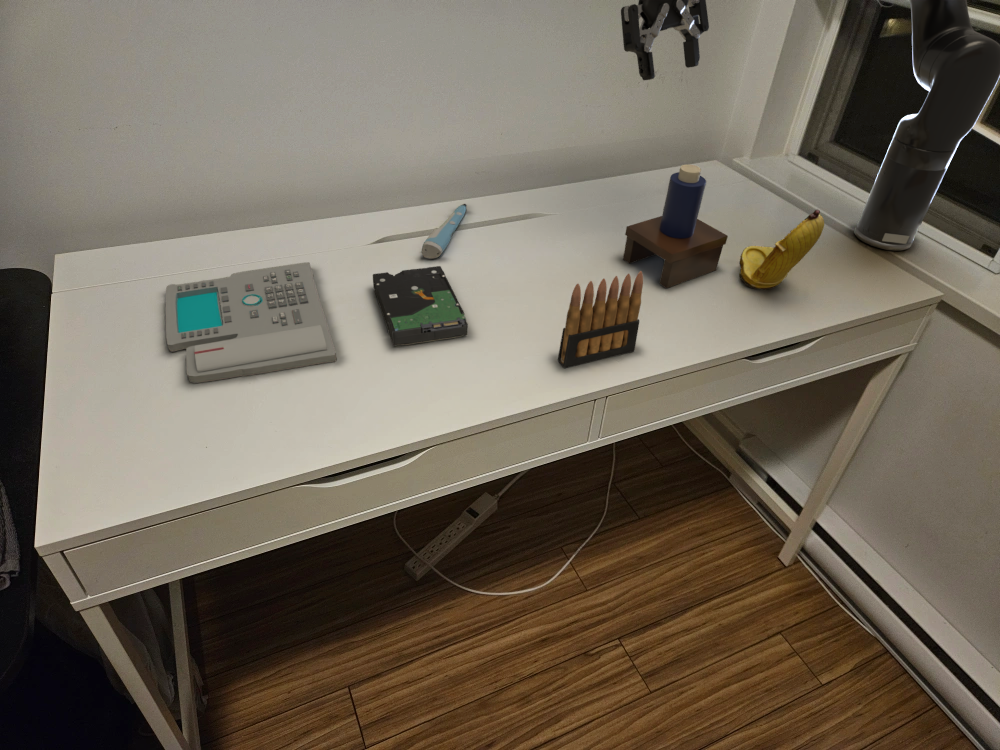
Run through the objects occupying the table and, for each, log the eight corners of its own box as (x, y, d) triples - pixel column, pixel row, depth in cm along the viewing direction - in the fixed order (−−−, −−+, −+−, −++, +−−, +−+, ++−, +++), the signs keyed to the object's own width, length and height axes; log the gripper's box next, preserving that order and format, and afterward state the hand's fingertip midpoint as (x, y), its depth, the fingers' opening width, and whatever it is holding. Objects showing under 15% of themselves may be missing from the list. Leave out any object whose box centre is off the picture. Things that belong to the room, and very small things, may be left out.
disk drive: (372, 290, 101) (393, 349, 90) (370, 273, 99) (392, 331, 89) (440, 280, 104) (469, 336, 93) (440, 264, 102) (469, 319, 92)
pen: (439, 262, 108) (439, 246, 106) (420, 259, 108) (419, 242, 107) (472, 209, 123) (473, 194, 121) (455, 206, 123) (455, 191, 121)
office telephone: (337, 345, 86) (163, 375, 80) (339, 361, 88) (169, 392, 82) (308, 253, 103) (162, 273, 97) (310, 269, 105) (167, 289, 98)
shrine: (811, 301, 104) (848, 209, 95) (766, 309, 102) (798, 215, 93) (766, 263, 113) (796, 175, 103) (723, 269, 110) (749, 180, 101)
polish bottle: (676, 220, 110) (690, 158, 103) (700, 233, 107) (716, 171, 100) (652, 227, 107) (665, 165, 101) (676, 241, 104) (691, 178, 98)
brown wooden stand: (673, 242, 117) (681, 209, 113) (718, 269, 110) (728, 235, 107) (620, 260, 111) (626, 226, 107) (664, 289, 105) (672, 254, 101)
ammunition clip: (627, 343, 94) (643, 266, 86) (634, 351, 93) (651, 273, 85) (557, 360, 90) (567, 281, 83) (563, 368, 89) (574, 289, 81)
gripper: (634, -46, 93) (649, 82, 100) (714, -63, 98) (724, 60, 105) (601, -34, 99) (618, 85, 106) (678, -51, 104) (689, 64, 111)
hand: (670, 73), depth 105 cm, fingers open, 8 cm apart
